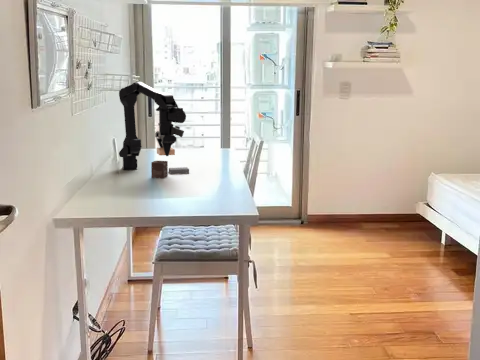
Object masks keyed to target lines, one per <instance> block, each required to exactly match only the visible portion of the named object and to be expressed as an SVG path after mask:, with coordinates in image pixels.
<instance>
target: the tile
mask: <svg viewBox="0 0 480 360" xmlns="http://www.w3.org/2000/svg"><path fill="white" fill-rule="evenodd" d="M175 153H176V149H174V148H173V147H171V148H170V152H169V156H175ZM156 154H158V156H166V155H165V152H164V149H163V148H160V147H156Z"/></svg>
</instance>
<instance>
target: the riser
mask: <svg viewBox="0 0 480 360" xmlns="http://www.w3.org/2000/svg"><path fill="white" fill-rule="evenodd" d="M189 173H190V168H188V167H187V166H186V167H185V166H184V167H182V166H181V167H169V168H168V174H171V175H175V174H176V175H177V174H179V175H181V174H189Z"/></svg>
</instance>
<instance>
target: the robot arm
mask: <svg viewBox="0 0 480 360" xmlns="http://www.w3.org/2000/svg"><path fill="white" fill-rule="evenodd" d="M140 94H143V95H144V96H146V97H148V98H150V99H152V100H153V101H154V103H155V104H156V105H157V106H158V107H157V108H156V109H155V111H156V112H159V113H158V115H159V116H158V120H159V122H158V126H159V127H158V128H159V130H157V131H155V134H154V137H155V138H156V141H157V143H158V146H159V148H163V149H164V152H165V155H164V156H166V157H169V156H170V155H169V152H170V148H172V145H173V144H175V143H177V137H176V136H178V137H180V138H183V136H184V133H185V130H183V129H181V128H180V126H178V125H175V126H174V124H173V123H175V124H176V123H177V124H178V123H179V124H183V123H184V122H186V118H187V115H186V112H185V111H184V107H179V105H178V104H177V102H176V100H175V98H174V95H173V94H172V93H168V92H164V91H160V90H157V89H155V88H153V87H151V86H149V85H147V84H146V83H144V82H143V81H135V82H133V83H131V84H130V85H127V86H125V87H122V88H120V90H119V91H118V96H119V102H120V103H121V105H122V107H123V112H124V113H123V114H124V128H125V129H124V130H125V136H124V139H123V142H122V148H121V149H120V151H119V152H118V155H119V157H120V158H122V166H121V167H122V170H124V171H125V170H126V171H127V170H138V159H137V157H139V155H140V152H141V149H142V146H143V145H142V139H141V138H139V137H138V136H137V126H136V114H135V106H136V103H137V101H138V96H139V95H140Z"/></svg>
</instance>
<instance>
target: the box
mask: <svg viewBox="0 0 480 360" xmlns="http://www.w3.org/2000/svg"><path fill="white" fill-rule="evenodd" d="M168 163H169V162H168V160H153V161H152V162H151V163H150V164H151V178H152V179H166V178H167V177H168V176H169V168H168V167H169V166H168Z"/></svg>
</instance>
